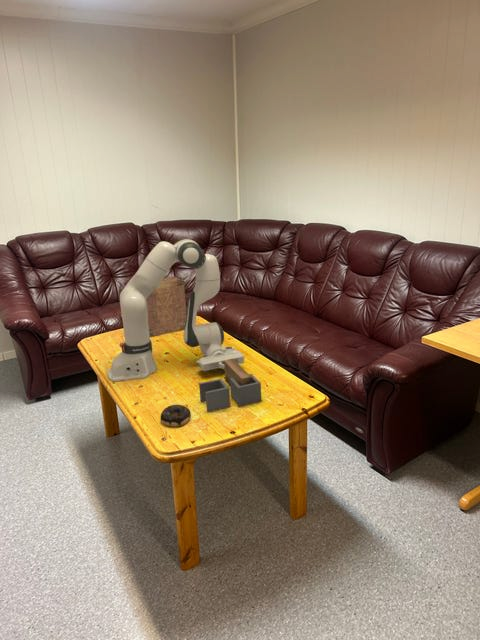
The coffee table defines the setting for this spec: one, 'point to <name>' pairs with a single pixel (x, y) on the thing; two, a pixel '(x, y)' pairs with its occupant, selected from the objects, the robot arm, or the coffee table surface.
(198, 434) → the coffee table surface
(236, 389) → the end cap
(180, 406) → the donut
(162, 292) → the book
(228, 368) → the slat
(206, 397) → the end cap
